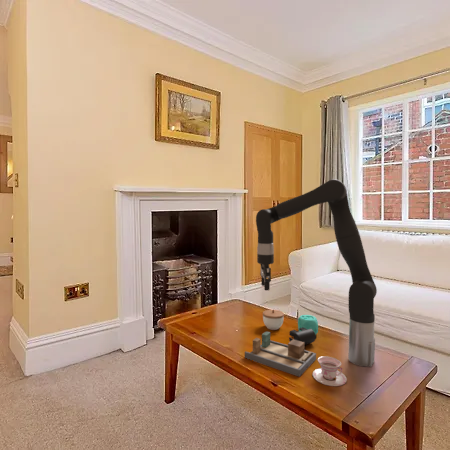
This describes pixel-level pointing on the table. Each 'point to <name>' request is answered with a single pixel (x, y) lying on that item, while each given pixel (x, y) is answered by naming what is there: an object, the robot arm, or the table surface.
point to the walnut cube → (296, 348)
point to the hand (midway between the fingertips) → (265, 287)
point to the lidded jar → (273, 319)
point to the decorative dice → (308, 323)
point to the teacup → (329, 372)
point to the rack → (280, 365)
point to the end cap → (303, 335)
